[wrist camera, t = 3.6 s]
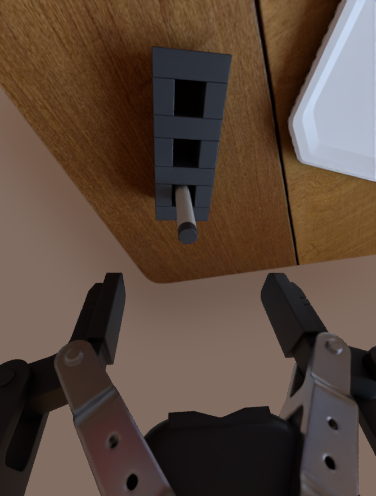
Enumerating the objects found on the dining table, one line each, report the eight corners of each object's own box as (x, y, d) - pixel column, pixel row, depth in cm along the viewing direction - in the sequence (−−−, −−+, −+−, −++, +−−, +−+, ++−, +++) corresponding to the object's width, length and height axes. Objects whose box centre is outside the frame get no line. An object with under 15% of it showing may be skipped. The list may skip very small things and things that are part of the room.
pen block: (202, 200, 27) (207, 221, 23) (157, 199, 26) (155, 220, 22) (218, 59, 19) (232, 54, 15) (155, 53, 18) (151, 46, 14)
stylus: (173, 182, 25) (176, 243, 16) (175, 170, 24) (180, 227, 15) (185, 184, 26) (195, 245, 16) (187, 172, 25) (199, 230, 15)
